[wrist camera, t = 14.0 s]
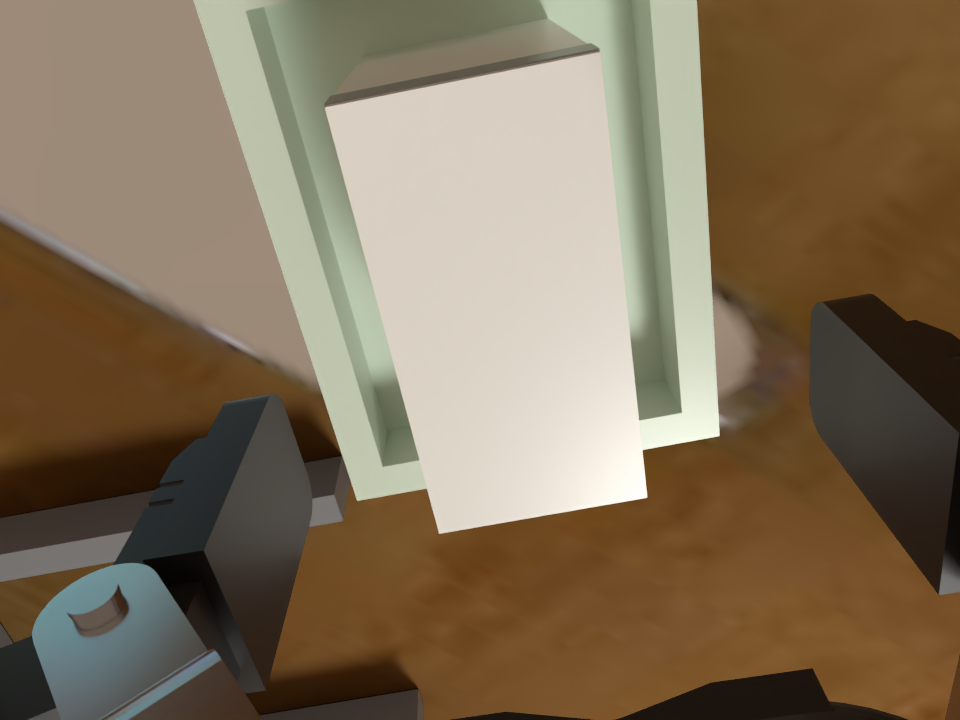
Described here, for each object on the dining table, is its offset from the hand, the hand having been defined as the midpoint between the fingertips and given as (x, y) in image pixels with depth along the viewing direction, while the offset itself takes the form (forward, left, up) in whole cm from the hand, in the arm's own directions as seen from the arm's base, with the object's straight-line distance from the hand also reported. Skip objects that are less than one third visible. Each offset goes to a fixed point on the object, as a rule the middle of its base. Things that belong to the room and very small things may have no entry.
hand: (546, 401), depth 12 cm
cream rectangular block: (0, 0, -10) cm, 10 cm away
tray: (0, 0, -11) cm, 11 cm away
